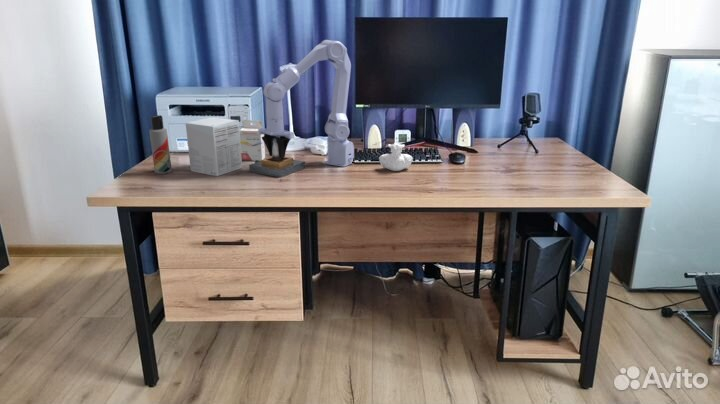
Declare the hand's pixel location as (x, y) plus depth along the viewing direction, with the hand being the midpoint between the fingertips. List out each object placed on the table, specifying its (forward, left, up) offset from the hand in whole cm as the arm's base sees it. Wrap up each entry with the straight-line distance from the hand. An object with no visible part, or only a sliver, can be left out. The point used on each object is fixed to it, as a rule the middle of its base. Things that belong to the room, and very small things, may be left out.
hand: (277, 156), depth 190 cm
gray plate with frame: (+2, 0, -5) cm, 5 cm away
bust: (-36, -22, -5) cm, 43 cm away
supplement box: (+19, +11, -5) cm, 23 cm away
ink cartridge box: (+18, -7, -5) cm, 20 cm away
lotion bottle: (+33, +23, -5) cm, 41 cm away
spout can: (0, 0, -2) cm, 2 cm away
